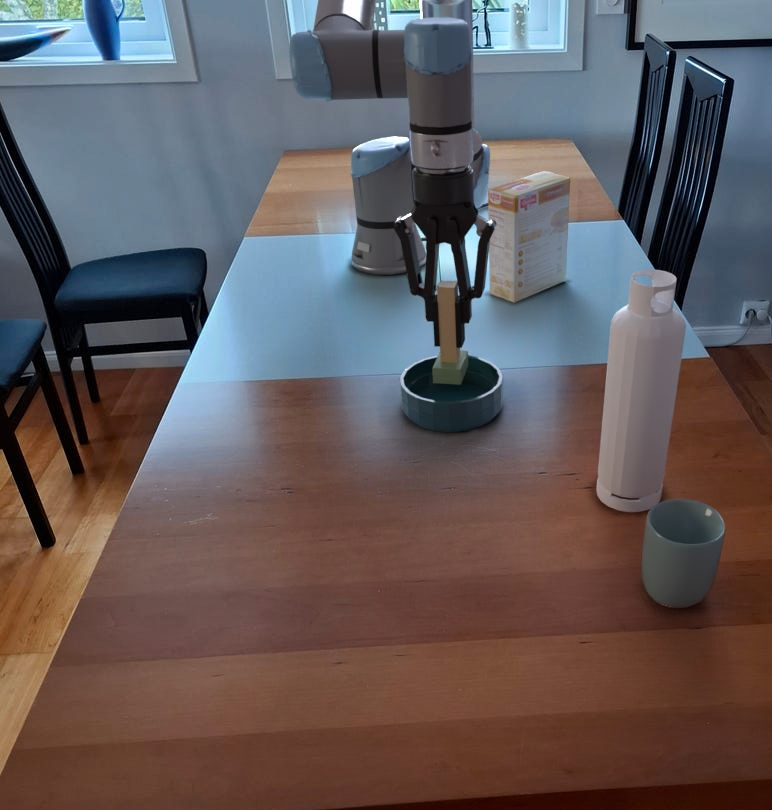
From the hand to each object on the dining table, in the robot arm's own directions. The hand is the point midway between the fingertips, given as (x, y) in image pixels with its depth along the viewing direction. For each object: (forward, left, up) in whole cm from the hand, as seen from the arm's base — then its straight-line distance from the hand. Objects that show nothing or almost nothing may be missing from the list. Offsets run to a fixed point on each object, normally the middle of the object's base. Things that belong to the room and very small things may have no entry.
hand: (449, 342), depth 113 cm
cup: (+36, +31, -11) cm, 49 cm away
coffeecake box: (-47, +6, -11) cm, 49 cm away
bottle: (+18, +26, -11) cm, 33 cm away
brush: (0, 0, -5) cm, 5 cm away
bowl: (0, 0, -11) cm, 11 cm away
